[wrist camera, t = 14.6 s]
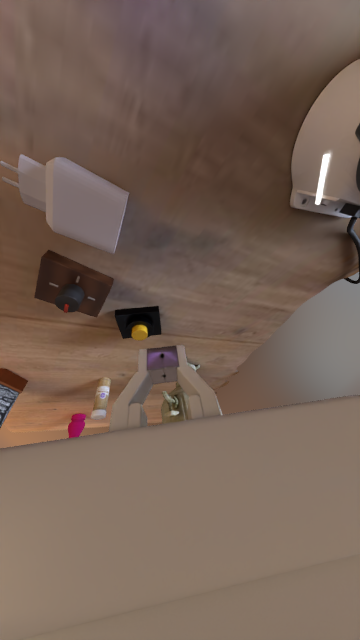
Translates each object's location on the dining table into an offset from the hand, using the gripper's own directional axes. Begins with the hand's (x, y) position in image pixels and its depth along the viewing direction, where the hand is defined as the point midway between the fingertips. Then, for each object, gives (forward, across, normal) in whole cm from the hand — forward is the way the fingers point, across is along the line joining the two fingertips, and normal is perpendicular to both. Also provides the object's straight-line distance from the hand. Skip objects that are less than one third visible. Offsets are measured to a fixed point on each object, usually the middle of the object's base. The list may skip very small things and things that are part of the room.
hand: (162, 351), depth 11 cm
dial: (+24, +18, +10) cm, 32 cm away
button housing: (+27, +6, +23) cm, 36 cm away
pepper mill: (+26, +48, +86) cm, 102 cm away
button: (+24, +6, +23) cm, 34 cm away
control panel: (+27, +18, +10) cm, 34 cm away
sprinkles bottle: (+27, +25, +53) cm, 65 cm away
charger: (+28, +12, -5) cm, 30 cm away
